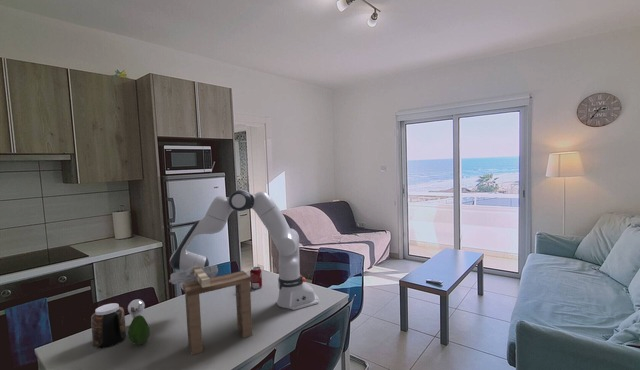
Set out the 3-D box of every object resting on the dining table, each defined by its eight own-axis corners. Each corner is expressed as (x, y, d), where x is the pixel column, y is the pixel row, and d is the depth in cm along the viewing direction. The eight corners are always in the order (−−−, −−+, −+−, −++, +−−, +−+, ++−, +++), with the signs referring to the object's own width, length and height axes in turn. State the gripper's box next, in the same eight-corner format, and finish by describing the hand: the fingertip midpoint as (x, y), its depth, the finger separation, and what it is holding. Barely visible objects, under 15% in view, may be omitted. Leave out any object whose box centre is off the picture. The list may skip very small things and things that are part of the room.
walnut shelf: (186, 343, 133) (182, 283, 131) (245, 325, 147) (243, 270, 145) (190, 355, 124) (186, 291, 122) (253, 334, 138) (250, 277, 136)
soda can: (259, 289, 187) (258, 270, 186) (249, 289, 189) (248, 269, 188) (263, 285, 194) (263, 266, 193) (253, 284, 195) (252, 266, 194)
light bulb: (125, 326, 149) (123, 302, 148) (138, 319, 155) (136, 296, 154) (136, 328, 146) (134, 303, 145) (149, 321, 153) (147, 297, 152)
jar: (106, 350, 129) (103, 315, 128) (86, 346, 133) (83, 311, 132) (132, 335, 140) (129, 303, 139) (113, 331, 144) (110, 300, 143)
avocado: (145, 336, 140) (143, 310, 139) (153, 342, 135) (151, 315, 134) (125, 344, 133) (123, 317, 133) (133, 351, 128) (130, 322, 128)
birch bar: (192, 273, 140) (192, 266, 140) (199, 271, 142) (199, 265, 142) (202, 287, 124) (201, 280, 123) (210, 286, 125) (209, 278, 125)
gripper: (167, 275, 145) (170, 267, 134) (213, 266, 156) (218, 258, 145) (169, 289, 143) (172, 282, 132) (215, 279, 154) (221, 272, 143)
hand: (197, 269), depth 139 cm, fingers closed on birch bar, 3 cm apart
